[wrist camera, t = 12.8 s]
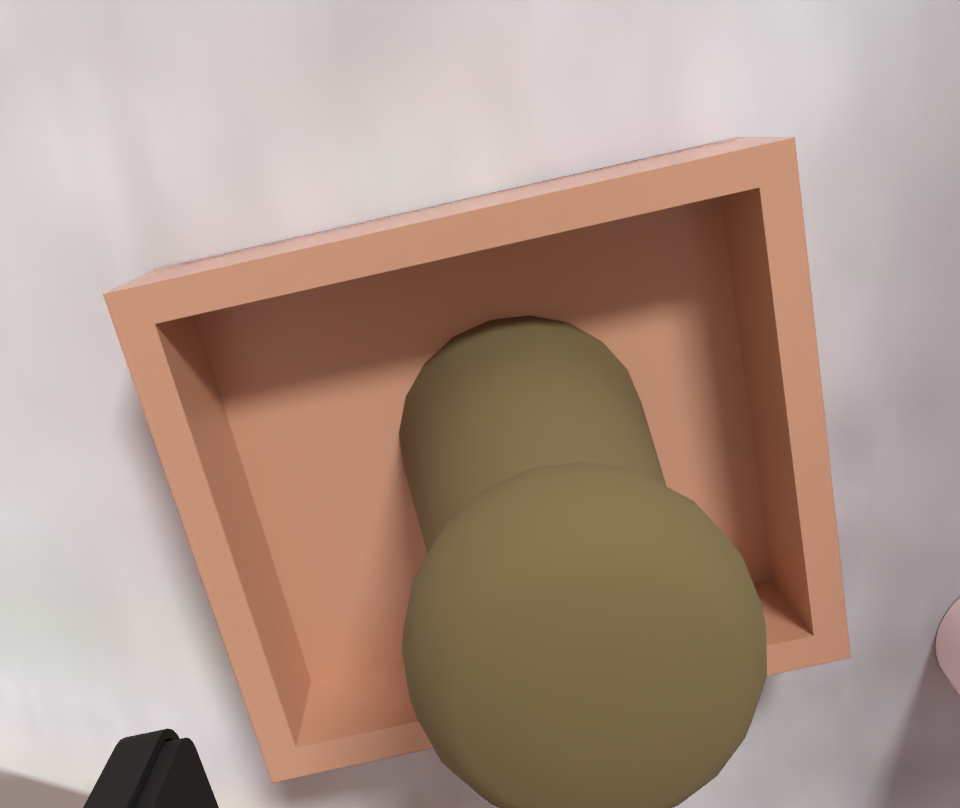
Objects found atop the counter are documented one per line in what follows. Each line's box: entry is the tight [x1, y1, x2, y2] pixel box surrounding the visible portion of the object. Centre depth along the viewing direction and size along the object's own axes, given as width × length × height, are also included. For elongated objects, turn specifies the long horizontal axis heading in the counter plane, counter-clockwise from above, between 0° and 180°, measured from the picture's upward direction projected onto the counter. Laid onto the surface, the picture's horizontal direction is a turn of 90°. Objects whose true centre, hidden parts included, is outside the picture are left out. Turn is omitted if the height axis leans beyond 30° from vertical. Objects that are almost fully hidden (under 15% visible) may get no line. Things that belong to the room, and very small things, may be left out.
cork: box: [399, 315, 767, 808], centre depth 17 cm, size 6×6×11 cm
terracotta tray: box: [103, 137, 851, 783], centre depth 21 cm, size 14×12×4 cm
